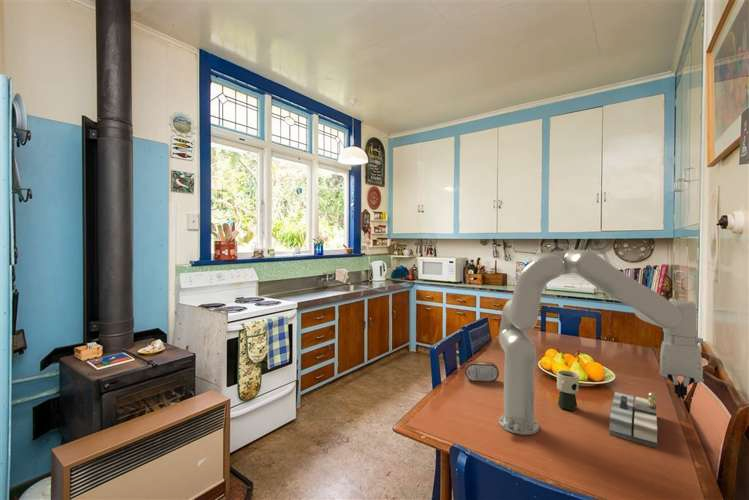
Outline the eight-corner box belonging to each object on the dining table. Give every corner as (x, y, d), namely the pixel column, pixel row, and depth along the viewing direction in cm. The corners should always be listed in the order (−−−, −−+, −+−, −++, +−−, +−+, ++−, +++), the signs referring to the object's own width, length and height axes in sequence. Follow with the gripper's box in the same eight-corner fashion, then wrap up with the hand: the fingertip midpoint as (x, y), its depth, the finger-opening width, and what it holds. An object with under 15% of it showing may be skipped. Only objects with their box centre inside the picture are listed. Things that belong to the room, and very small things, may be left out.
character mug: (572, 416, 125) (573, 380, 125) (551, 409, 131) (552, 374, 130) (582, 406, 133) (583, 372, 132) (562, 400, 138) (562, 367, 138)
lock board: (656, 447, 106) (657, 420, 106) (609, 434, 114) (609, 409, 113) (655, 416, 125) (655, 392, 125) (614, 406, 133) (615, 384, 132)
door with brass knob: (656, 413, 115) (657, 394, 114) (635, 408, 118) (635, 390, 118) (656, 411, 117) (657, 392, 116) (635, 406, 120) (635, 387, 120)
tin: (497, 380, 158) (497, 361, 158) (499, 383, 155) (499, 364, 155) (463, 379, 160) (463, 360, 159) (464, 381, 156) (464, 363, 156)
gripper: (711, 340, 110) (711, 398, 110) (650, 333, 119) (650, 387, 120) (715, 346, 104) (714, 407, 104) (650, 338, 113) (651, 395, 114)
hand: (680, 396), depth 112 cm, fingers closed
